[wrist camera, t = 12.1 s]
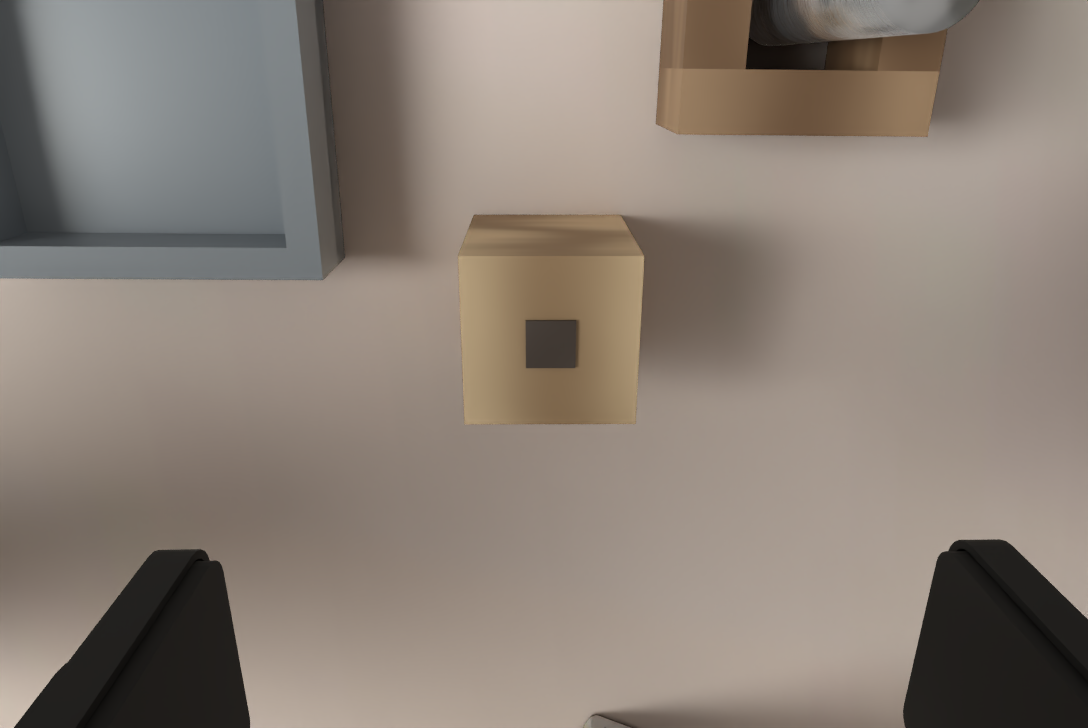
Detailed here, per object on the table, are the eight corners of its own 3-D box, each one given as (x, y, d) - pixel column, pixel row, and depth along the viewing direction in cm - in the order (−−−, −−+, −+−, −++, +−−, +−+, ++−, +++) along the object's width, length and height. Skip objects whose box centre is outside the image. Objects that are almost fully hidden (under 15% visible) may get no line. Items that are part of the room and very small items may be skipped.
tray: (22, 255, 26) (-39, 277, 23) (-69, -118, 22) (-156, -144, 19) (344, 257, 26) (322, 280, 24) (312, -112, 22) (281, -137, 19)
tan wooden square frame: (655, 123, 25) (678, 134, 21) (671, -126, 22) (699, -165, 19) (867, 126, 25) (927, 136, 21) (907, -123, 22) (983, -160, 19)
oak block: (478, 351, 28) (464, 425, 22) (473, 214, 26) (457, 256, 20) (615, 351, 28) (635, 425, 22) (620, 214, 26) (645, 256, 20)
